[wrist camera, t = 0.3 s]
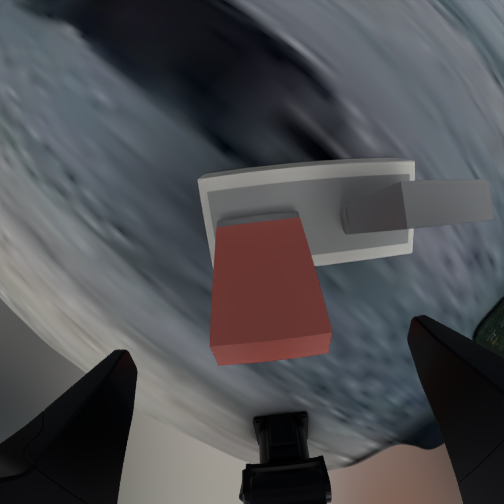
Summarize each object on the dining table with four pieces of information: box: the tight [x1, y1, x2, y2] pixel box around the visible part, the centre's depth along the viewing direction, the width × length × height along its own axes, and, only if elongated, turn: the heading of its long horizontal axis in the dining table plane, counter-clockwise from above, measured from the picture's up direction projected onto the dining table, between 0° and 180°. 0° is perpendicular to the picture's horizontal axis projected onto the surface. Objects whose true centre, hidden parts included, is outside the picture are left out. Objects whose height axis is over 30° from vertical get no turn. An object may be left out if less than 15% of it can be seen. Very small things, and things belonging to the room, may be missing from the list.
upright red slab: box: [210, 211, 332, 365], centre depth 16 cm, size 2×5×9 cm, turn 97°
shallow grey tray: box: [197, 158, 415, 269], centre depth 21 cm, size 7×15×3 cm, turn 97°
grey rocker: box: [341, 180, 494, 235], centre depth 14 cm, size 2×5×9 cm, turn 96°
